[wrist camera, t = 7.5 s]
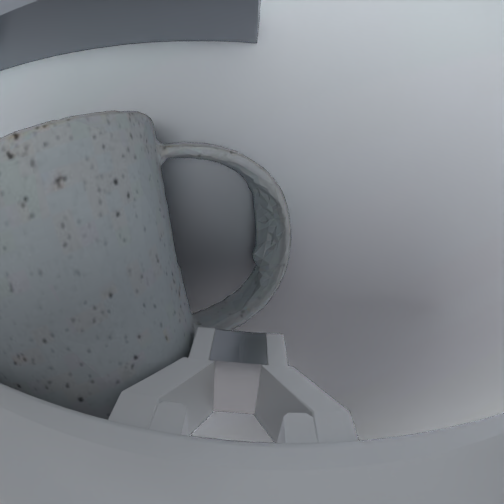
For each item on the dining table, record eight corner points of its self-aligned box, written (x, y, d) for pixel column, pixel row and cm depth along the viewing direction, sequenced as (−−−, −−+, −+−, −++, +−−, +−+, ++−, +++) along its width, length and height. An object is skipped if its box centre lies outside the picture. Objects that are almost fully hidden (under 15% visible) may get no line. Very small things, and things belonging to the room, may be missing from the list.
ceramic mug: (72, 344, 13) (-9, 462, 6) (14, 175, 10) (-129, 217, 3) (300, 311, 12) (350, 478, 5) (261, 96, 10) (291, -9, 3)
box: (259, 19, 9) (263, -59, 4) (222, 458, 15) (216, 530, 11) (-15, 57, 9) (-86, 46, 4) (30, 413, 15) (-3, 463, 10)
